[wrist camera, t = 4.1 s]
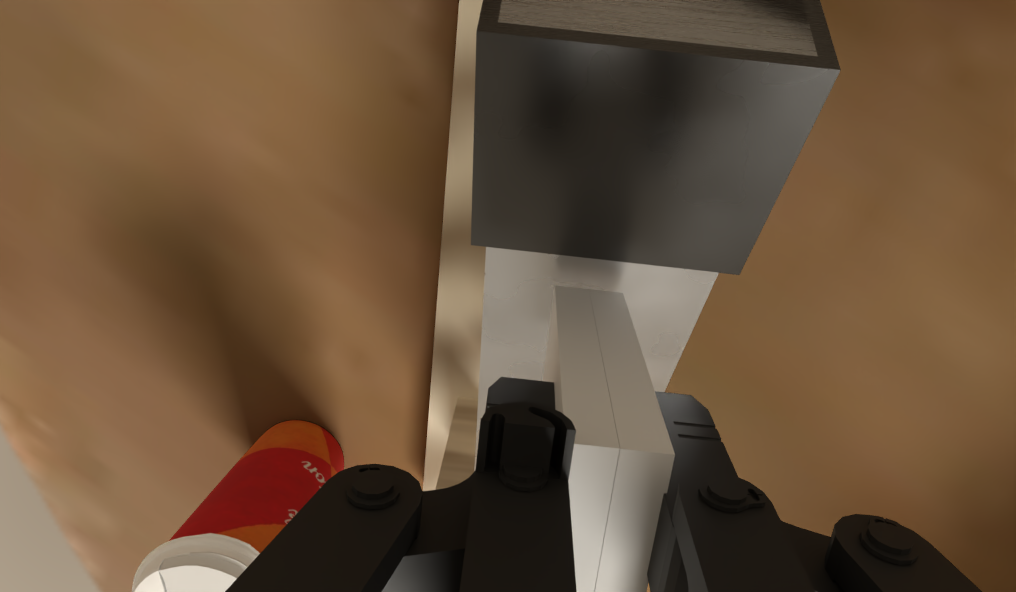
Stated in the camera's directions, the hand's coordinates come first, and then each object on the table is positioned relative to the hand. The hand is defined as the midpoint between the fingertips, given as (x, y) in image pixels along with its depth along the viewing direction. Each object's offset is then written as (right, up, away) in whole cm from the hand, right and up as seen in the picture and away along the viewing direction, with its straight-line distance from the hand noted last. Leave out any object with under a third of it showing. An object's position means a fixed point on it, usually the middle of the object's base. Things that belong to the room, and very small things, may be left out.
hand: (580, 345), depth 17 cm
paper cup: (-15, -9, +30) cm, 34 cm away
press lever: (0, -1, +7) cm, 7 cm away
